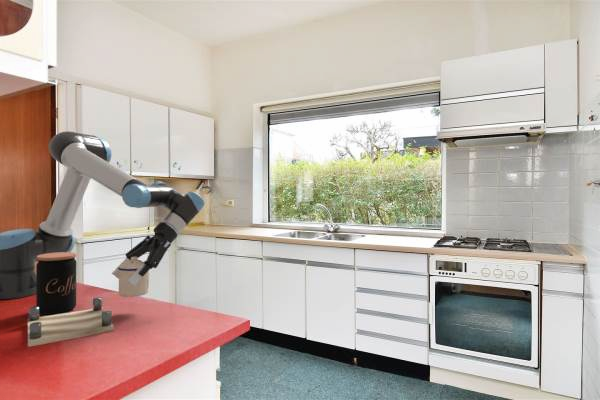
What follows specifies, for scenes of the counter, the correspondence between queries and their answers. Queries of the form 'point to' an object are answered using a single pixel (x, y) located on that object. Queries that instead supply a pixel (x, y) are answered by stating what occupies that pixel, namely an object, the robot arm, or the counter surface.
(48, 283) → the coffee jar
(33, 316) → the set of grey pegs
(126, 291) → the teacup with lid
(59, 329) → the birch board
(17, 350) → the counter surface
